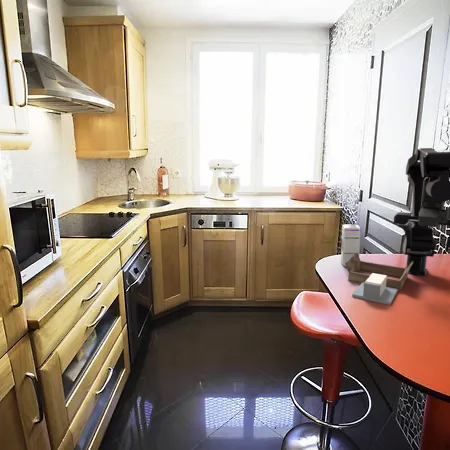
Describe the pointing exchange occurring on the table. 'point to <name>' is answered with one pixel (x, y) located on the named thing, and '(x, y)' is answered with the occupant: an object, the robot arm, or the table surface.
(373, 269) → the carton
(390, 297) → the mat
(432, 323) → the table surface
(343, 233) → the syrup box
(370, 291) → the cream box
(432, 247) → the robot arm
